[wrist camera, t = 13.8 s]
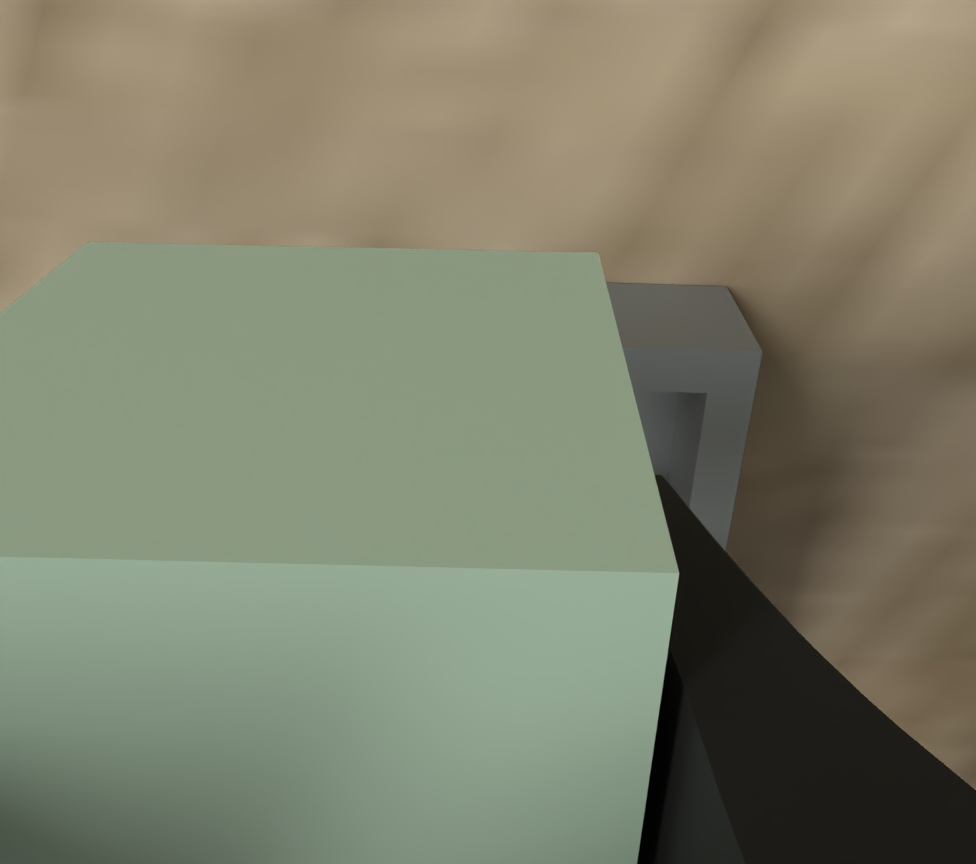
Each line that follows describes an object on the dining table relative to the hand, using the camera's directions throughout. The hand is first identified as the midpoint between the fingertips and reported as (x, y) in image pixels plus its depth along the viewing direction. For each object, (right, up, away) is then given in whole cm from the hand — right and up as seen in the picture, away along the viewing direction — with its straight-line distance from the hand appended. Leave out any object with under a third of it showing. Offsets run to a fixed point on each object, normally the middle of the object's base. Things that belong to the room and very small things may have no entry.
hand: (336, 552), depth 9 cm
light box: (0, +1, +1) cm, 2 cm away
